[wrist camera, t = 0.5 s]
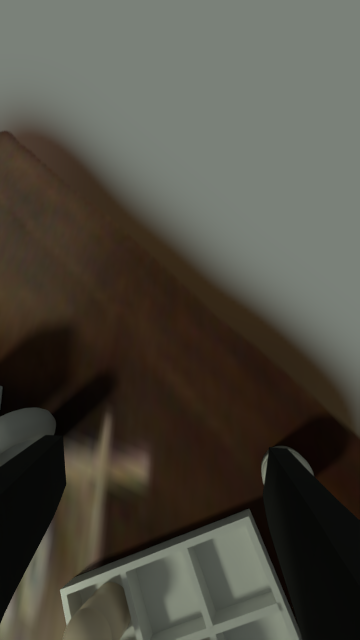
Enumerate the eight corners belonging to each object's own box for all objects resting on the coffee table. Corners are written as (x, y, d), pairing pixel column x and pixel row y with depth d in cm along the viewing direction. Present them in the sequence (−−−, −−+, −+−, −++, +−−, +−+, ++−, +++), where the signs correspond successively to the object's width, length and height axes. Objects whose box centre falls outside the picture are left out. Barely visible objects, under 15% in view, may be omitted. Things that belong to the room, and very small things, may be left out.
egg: (315, 483, 30) (330, 501, 24) (273, 499, 30) (278, 521, 24) (293, 439, 31) (301, 444, 25) (253, 455, 32) (253, 464, 26)
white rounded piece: (64, 402, 39) (3, 398, 29) (77, 424, 37) (17, 427, 28) (4, 453, 39) (-76, 466, 29) (15, 477, 37) (-65, 498, 28)
